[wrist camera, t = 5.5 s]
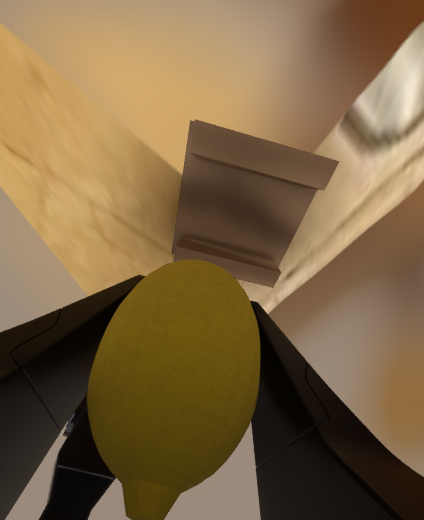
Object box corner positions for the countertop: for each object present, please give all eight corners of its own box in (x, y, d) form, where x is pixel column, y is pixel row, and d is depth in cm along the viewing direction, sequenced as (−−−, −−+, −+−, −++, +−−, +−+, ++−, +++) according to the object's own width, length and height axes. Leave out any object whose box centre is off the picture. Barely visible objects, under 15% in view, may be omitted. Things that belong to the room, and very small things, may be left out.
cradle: (270, 274, 21) (279, 293, 18) (174, 250, 20) (163, 265, 17) (325, 162, 15) (356, 157, 12) (192, 123, 15) (182, 106, 11)
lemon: (201, 321, 12) (165, 539, 5) (139, 273, 10) (-56, 496, 3) (264, 282, 10) (368, 560, 3) (201, 213, 8) (43, 466, 1)
